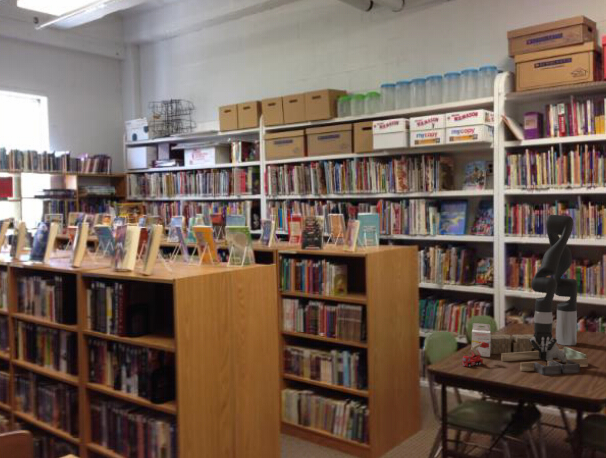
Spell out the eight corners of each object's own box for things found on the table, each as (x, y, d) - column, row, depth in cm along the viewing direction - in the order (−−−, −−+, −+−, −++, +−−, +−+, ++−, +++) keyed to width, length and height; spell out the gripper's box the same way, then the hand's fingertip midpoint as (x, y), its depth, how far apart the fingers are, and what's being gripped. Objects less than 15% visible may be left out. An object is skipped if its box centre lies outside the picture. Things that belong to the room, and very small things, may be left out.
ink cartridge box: (471, 355, 281) (471, 325, 280) (472, 353, 285) (472, 323, 285) (490, 357, 278) (490, 326, 277) (490, 354, 282) (490, 324, 282)
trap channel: (501, 360, 271) (501, 350, 271) (564, 356, 277) (564, 345, 276) (530, 376, 247) (530, 364, 247) (598, 370, 253) (598, 359, 253)
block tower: (538, 351, 291) (478, 350, 292) (538, 334, 291) (479, 333, 291) (544, 355, 283) (483, 354, 284) (544, 338, 283) (483, 336, 283)
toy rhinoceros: (565, 370, 263) (573, 353, 262) (538, 358, 266) (546, 341, 265) (563, 366, 270) (571, 349, 269) (537, 354, 273) (544, 338, 272)
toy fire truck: (461, 365, 264) (461, 344, 264) (483, 361, 271) (483, 340, 270) (466, 367, 261) (466, 346, 261) (489, 363, 268) (489, 342, 267)
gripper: (551, 319, 269) (550, 357, 270) (525, 320, 267) (524, 358, 268) (561, 322, 262) (560, 361, 263) (534, 323, 260) (533, 362, 260)
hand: (542, 359), depth 265 cm, fingers closed
